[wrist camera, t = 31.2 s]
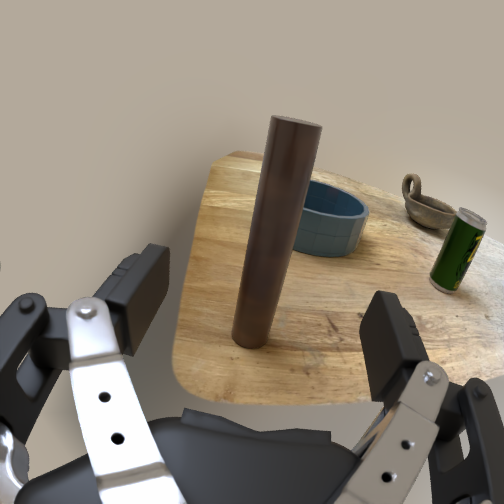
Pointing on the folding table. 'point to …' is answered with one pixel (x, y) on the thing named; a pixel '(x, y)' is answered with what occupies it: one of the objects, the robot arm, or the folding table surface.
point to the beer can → (457, 250)
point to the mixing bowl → (330, 221)
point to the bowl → (426, 206)
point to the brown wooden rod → (274, 225)
